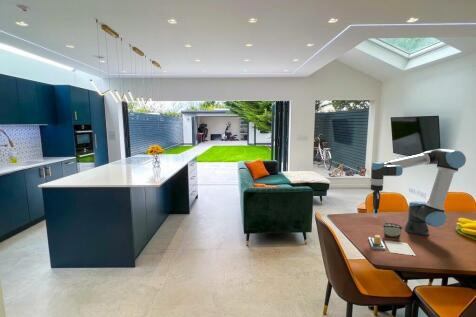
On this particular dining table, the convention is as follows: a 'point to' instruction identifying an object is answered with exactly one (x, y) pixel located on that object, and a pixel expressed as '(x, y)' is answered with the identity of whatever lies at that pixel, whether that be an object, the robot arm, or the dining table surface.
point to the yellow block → (377, 239)
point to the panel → (375, 246)
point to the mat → (399, 248)
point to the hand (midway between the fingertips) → (375, 217)
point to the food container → (392, 231)
